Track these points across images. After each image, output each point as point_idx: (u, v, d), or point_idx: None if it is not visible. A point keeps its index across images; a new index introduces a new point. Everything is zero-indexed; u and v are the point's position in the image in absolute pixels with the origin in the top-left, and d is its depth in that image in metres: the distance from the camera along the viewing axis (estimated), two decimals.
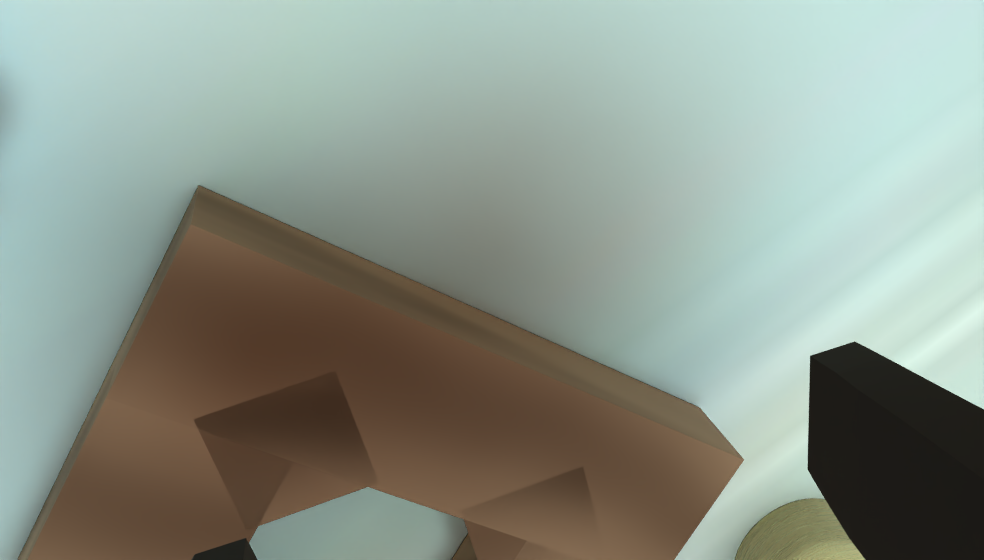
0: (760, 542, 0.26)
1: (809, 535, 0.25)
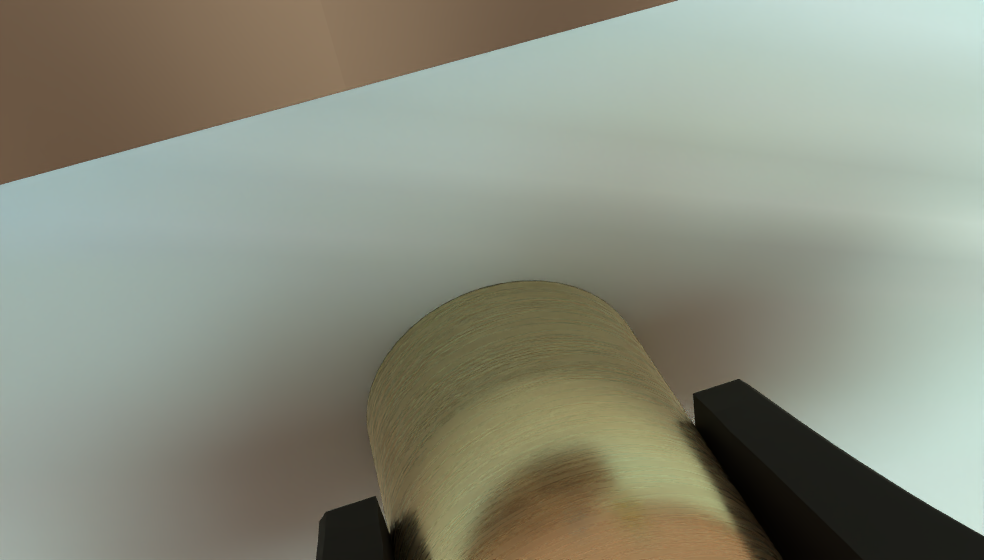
0: (509, 308, 0.11)
1: (619, 350, 0.11)
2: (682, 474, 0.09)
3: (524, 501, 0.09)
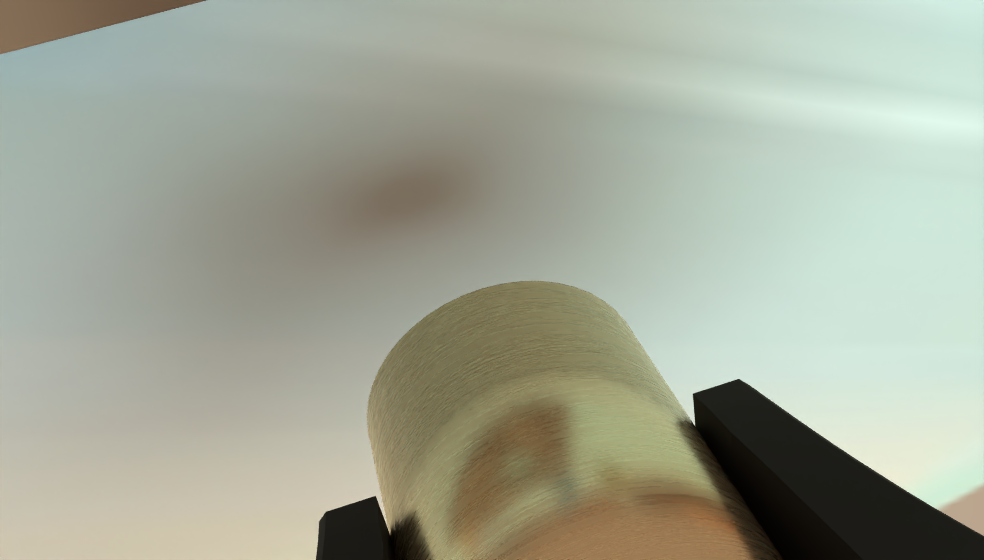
0: (509, 309, 0.11)
1: (619, 351, 0.11)
2: (682, 474, 0.09)
3: (524, 502, 0.09)
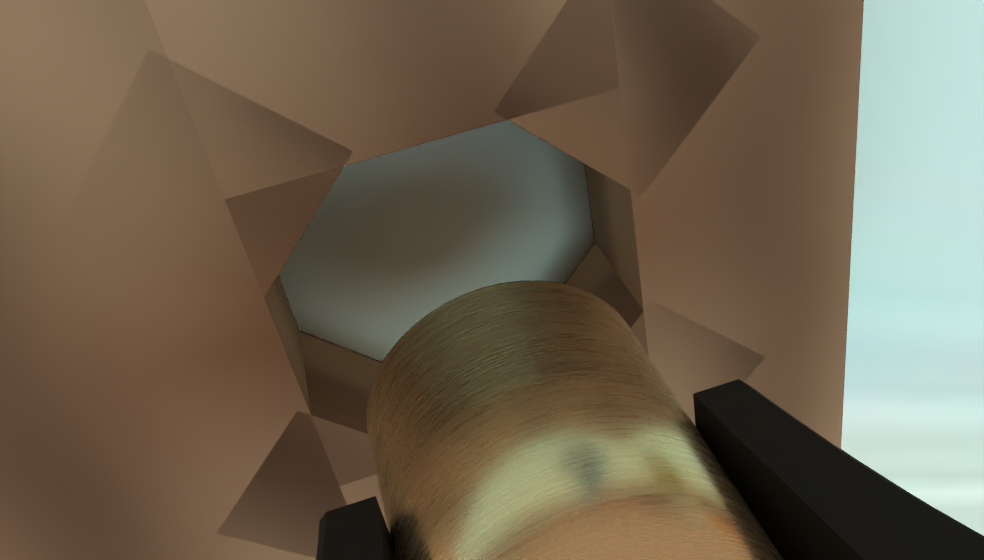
0: (509, 308, 0.11)
1: (619, 350, 0.11)
2: (682, 474, 0.09)
3: (523, 501, 0.09)
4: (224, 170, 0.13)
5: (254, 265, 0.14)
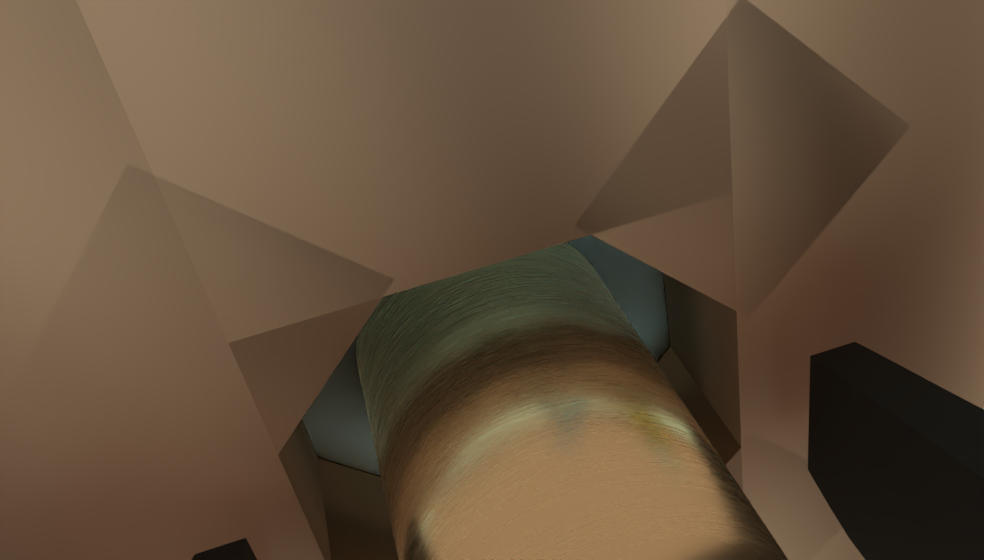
0: None
1: (582, 284, 0.12)
2: (630, 381, 0.10)
3: (489, 401, 0.10)
4: (228, 308, 0.10)
5: (265, 418, 0.11)
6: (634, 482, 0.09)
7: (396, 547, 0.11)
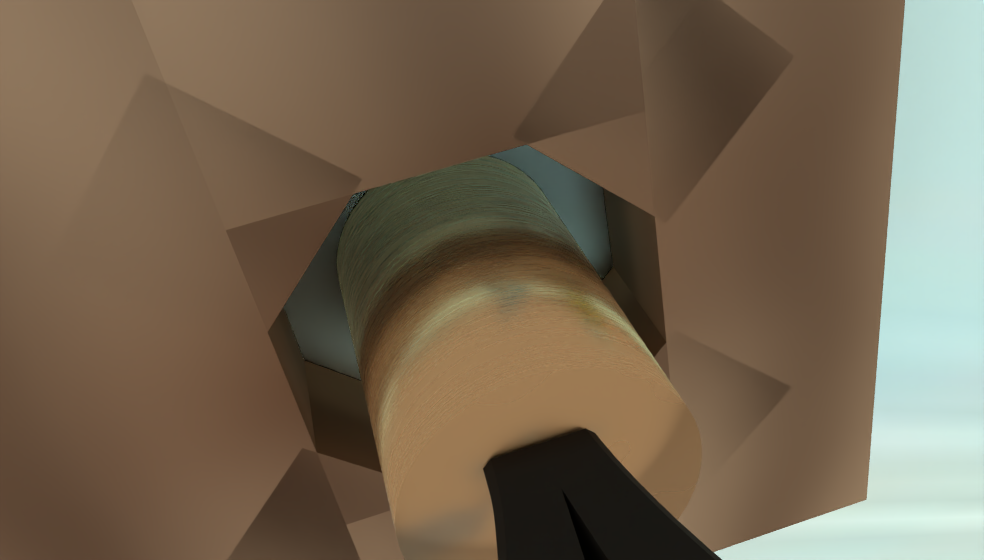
0: (444, 169, 0.15)
1: (527, 199, 0.14)
2: (560, 266, 0.13)
3: (442, 282, 0.12)
4: (225, 200, 0.12)
5: (257, 298, 0.13)
6: (553, 333, 0.11)
7: (368, 409, 0.13)
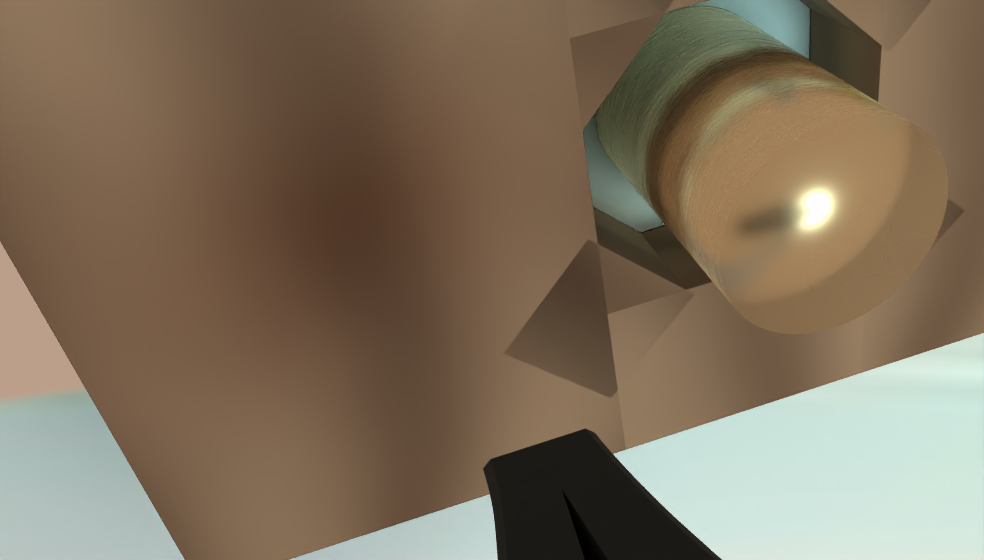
0: (697, 15, 0.18)
1: (768, 36, 0.18)
2: (821, 69, 0.16)
3: (733, 78, 0.16)
4: (574, 12, 0.15)
5: (580, 100, 0.16)
6: (843, 97, 0.14)
7: (664, 187, 0.16)
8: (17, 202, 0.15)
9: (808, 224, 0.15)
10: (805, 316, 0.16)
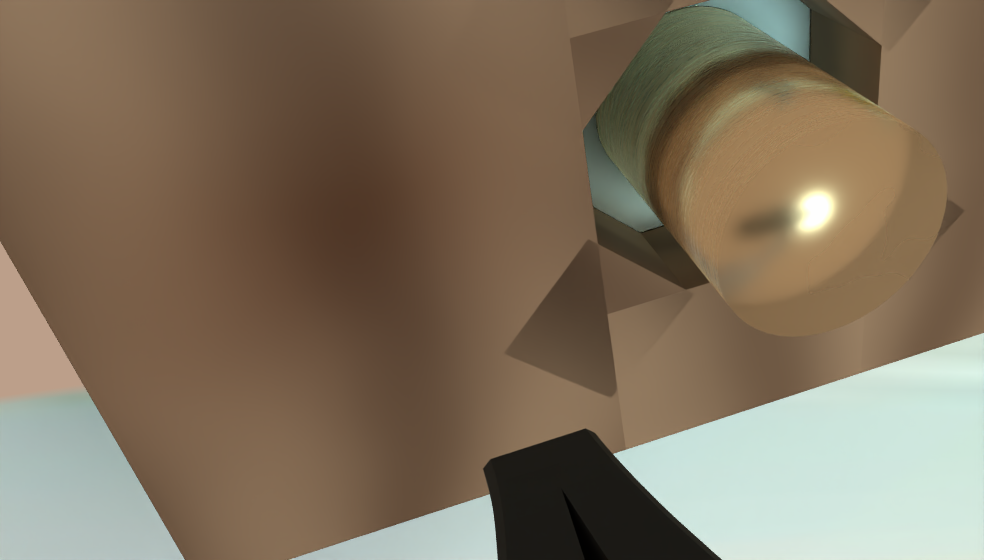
0: (696, 16, 0.18)
1: (768, 37, 0.18)
2: (820, 71, 0.16)
3: (731, 81, 0.16)
4: (574, 12, 0.15)
5: (580, 100, 0.16)
6: (840, 101, 0.14)
7: (663, 190, 0.16)
8: (17, 202, 0.15)
9: (806, 228, 0.15)
10: (804, 318, 0.16)
